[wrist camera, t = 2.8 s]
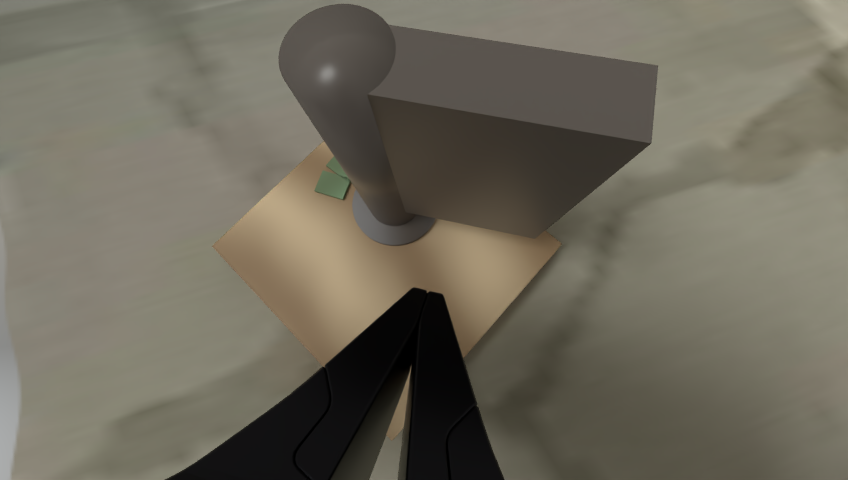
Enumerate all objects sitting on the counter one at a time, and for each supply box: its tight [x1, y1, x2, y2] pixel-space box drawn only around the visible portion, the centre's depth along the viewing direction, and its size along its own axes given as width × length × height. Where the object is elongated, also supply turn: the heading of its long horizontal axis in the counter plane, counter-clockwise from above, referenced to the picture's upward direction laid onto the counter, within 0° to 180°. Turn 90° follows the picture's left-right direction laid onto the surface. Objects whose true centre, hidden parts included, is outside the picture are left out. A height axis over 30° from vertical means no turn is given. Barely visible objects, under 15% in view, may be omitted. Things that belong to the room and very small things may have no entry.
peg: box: [279, 4, 658, 239], centre depth 12 cm, size 6×8×10 cm
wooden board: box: [212, 141, 562, 440], centre depth 17 cm, size 12×13×2 cm
